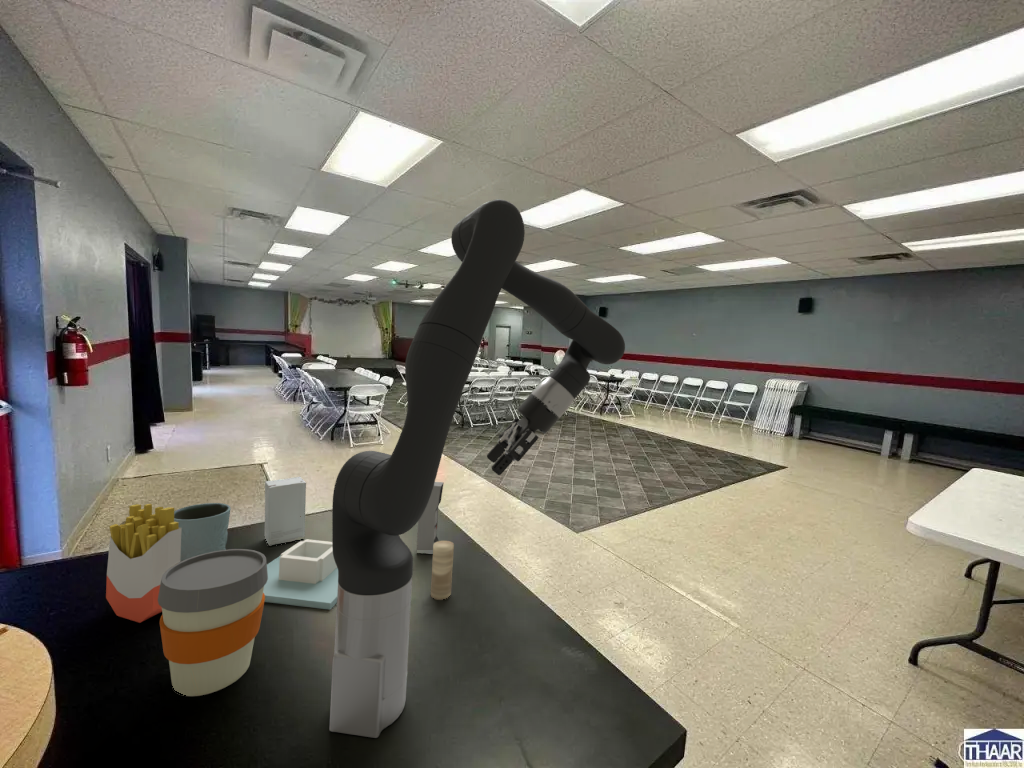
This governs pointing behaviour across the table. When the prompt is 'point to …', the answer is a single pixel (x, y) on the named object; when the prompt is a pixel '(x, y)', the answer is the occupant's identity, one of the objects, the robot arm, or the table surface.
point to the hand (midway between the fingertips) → (492, 465)
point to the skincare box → (284, 509)
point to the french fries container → (141, 560)
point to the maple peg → (442, 570)
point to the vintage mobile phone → (429, 520)
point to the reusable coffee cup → (211, 617)
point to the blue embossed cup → (202, 528)
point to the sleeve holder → (304, 576)
